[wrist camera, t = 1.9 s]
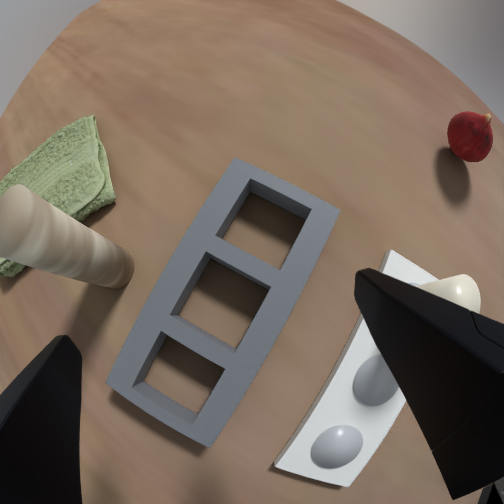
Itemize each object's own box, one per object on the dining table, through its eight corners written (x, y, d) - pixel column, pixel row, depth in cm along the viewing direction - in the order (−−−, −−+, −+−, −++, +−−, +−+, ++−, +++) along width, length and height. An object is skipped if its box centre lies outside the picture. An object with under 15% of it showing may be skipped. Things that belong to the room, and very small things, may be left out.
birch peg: (121, 297, 21) (6, 271, 8) (92, 275, 21) (-19, 235, 9) (141, 260, 22) (41, 200, 9) (111, 240, 22) (12, 175, 10)
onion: (473, 179, 24) (513, 149, 16) (439, 163, 24) (479, 125, 17) (465, 142, 26) (498, 109, 18) (433, 125, 26) (464, 87, 18)
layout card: (345, 481, 17) (375, 529, 9) (273, 461, 18) (284, 516, 10) (444, 289, 21) (503, 276, 14) (386, 252, 22) (439, 223, 14)
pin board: (213, 435, 19) (209, 448, 16) (119, 377, 20) (105, 382, 17) (331, 220, 23) (340, 210, 20) (236, 172, 24) (234, 157, 21)
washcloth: (127, 202, 23) (112, 187, 20) (10, 286, 21) (-9, 282, 18) (99, 118, 26) (88, 101, 23) (-1, 197, 24) (-15, 188, 21)
